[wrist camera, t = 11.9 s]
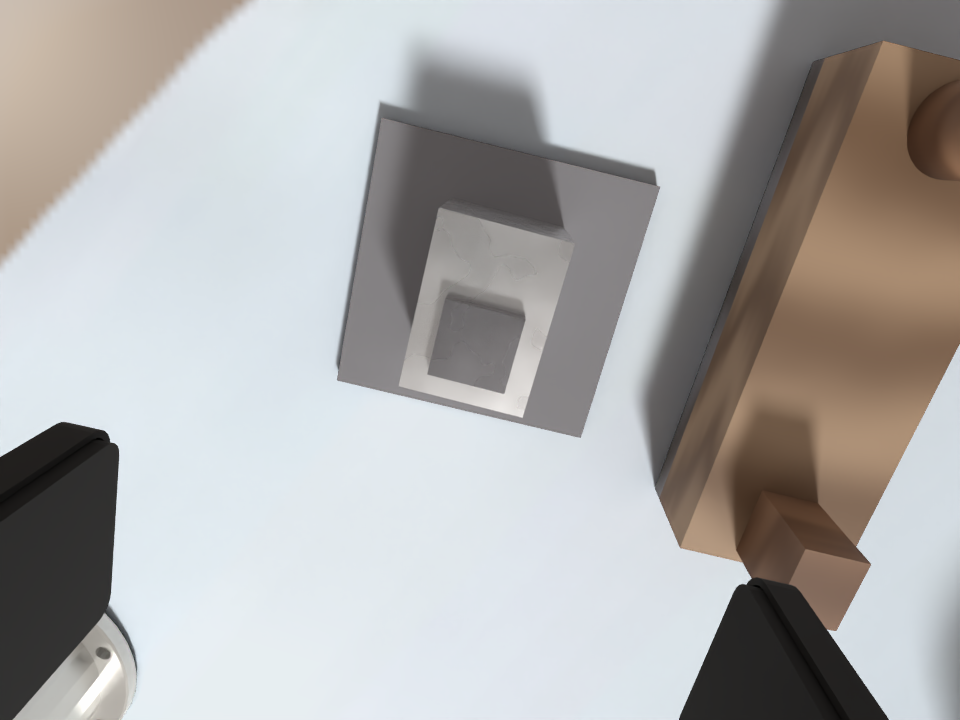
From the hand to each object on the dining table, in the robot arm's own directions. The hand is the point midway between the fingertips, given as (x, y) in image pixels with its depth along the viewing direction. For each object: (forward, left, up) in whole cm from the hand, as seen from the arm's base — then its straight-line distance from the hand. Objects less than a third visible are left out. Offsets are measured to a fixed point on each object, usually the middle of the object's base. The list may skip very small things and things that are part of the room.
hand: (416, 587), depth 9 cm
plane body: (+2, -14, -21) cm, 25 cm away
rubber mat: (0, 0, -21) cm, 20 cm away
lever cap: (0, 0, -20) cm, 20 cm away
